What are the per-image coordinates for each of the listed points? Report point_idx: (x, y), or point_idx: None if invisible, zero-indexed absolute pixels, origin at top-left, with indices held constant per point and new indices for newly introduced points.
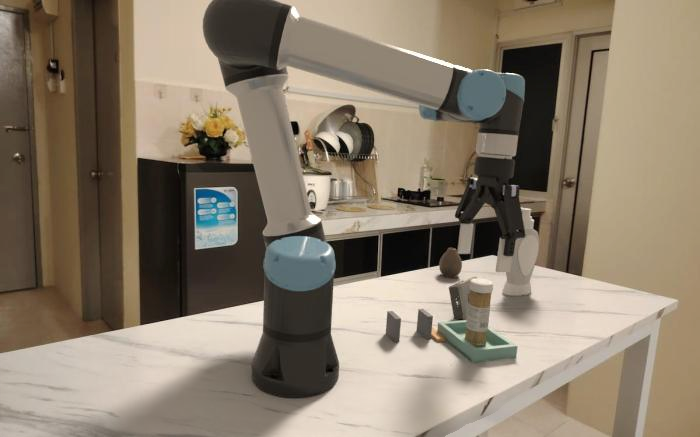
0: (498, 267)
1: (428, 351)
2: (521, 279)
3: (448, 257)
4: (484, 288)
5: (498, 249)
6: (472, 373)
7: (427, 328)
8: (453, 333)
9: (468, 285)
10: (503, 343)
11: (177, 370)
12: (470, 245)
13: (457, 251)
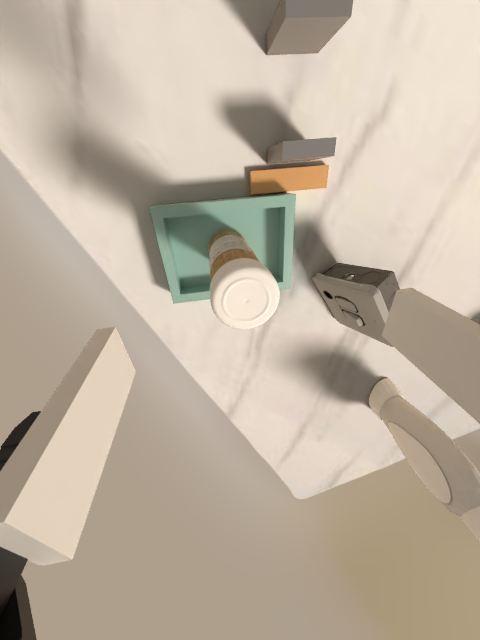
0: (87, 343)
1: (207, 121)
2: (387, 414)
3: None
4: (210, 289)
5: (63, 415)
6: (108, 180)
7: (273, 148)
8: (235, 202)
9: (371, 314)
10: (198, 289)
11: None
12: (408, 356)
13: (416, 290)
